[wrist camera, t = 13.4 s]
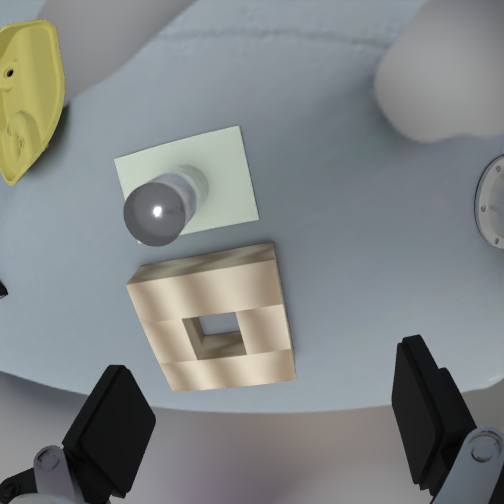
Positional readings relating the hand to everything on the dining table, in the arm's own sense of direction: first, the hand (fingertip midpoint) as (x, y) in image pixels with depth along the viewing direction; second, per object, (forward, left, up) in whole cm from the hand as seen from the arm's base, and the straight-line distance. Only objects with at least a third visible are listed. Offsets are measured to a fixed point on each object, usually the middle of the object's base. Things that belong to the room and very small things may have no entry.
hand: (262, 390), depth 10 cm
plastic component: (+26, -20, -26) cm, 42 cm away
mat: (+8, -4, -26) cm, 27 cm away
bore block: (+8, +12, -26) cm, 30 cm away
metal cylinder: (+8, -4, -25) cm, 27 cm away
